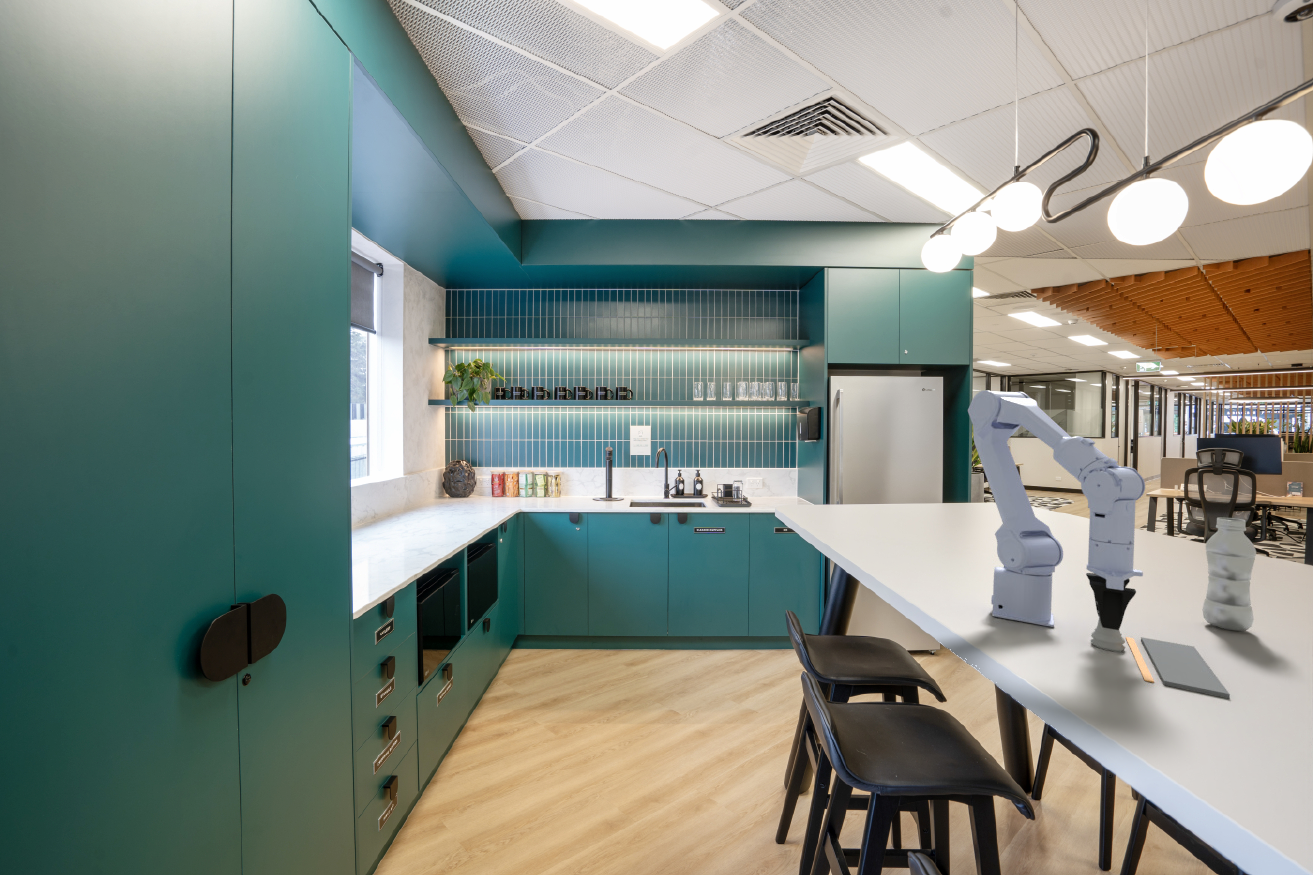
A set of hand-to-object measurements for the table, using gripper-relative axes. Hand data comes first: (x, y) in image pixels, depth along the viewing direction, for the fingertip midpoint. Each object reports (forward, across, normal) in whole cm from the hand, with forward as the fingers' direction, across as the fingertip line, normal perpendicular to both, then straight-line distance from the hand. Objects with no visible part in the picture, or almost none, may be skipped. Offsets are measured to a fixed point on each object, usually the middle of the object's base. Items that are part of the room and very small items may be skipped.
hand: (1108, 623), depth 90 cm
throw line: (+4, -3, -4) cm, 6 cm away
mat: (+4, -3, -8) cm, 10 cm away
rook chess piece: (+4, 0, 0) cm, 4 cm away
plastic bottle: (+4, +25, -19) cm, 32 cm away
